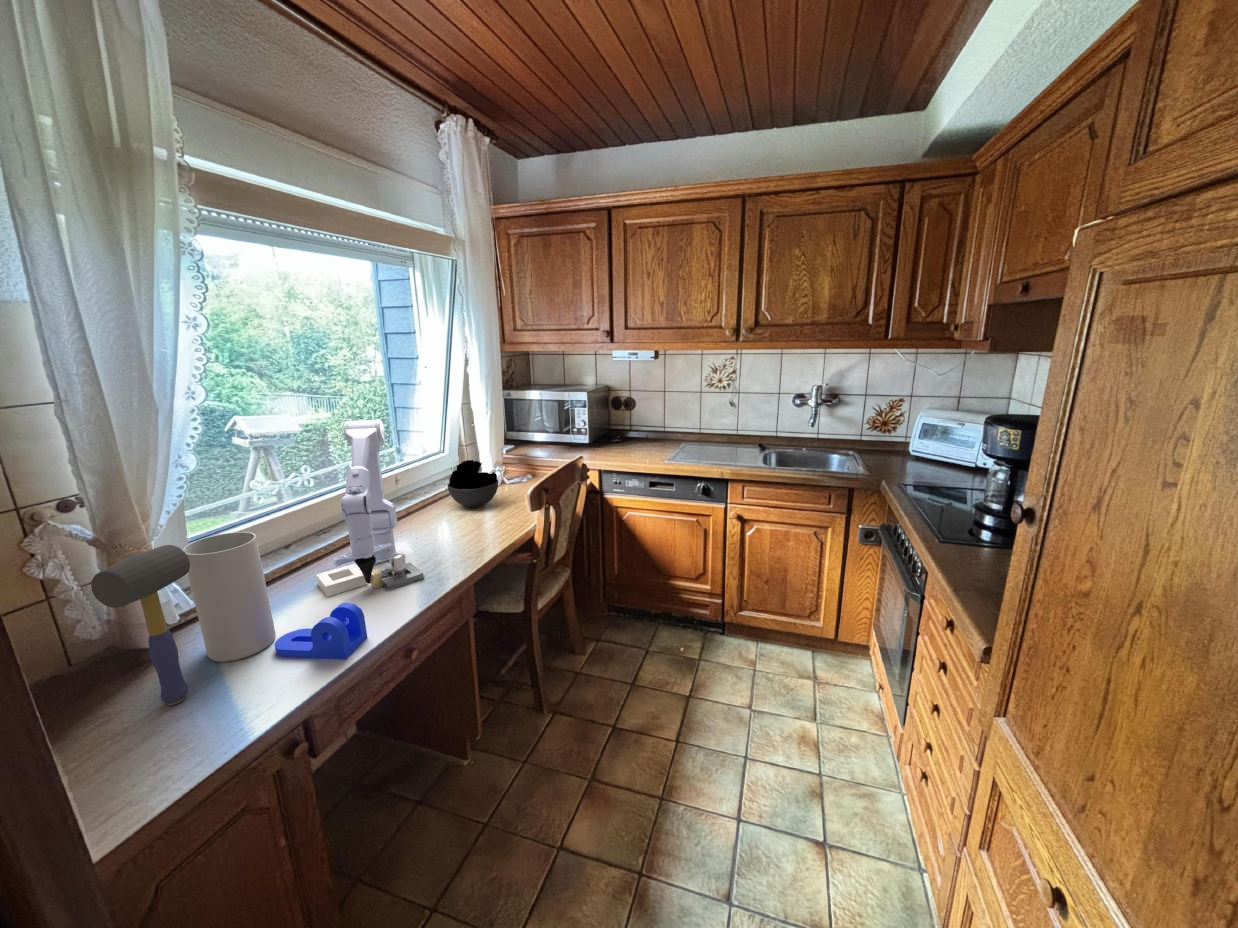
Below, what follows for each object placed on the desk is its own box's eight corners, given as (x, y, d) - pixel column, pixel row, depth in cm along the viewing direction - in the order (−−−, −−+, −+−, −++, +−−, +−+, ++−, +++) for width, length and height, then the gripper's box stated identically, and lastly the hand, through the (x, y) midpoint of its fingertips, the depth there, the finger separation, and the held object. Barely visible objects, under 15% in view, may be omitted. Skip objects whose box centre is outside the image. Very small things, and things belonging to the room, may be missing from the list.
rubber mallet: (188, 678, 103) (153, 541, 96) (222, 680, 103) (189, 541, 95) (125, 723, 91) (80, 570, 84) (163, 725, 90) (121, 571, 83)
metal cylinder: (390, 578, 146) (387, 556, 144) (404, 574, 148) (401, 552, 147) (395, 583, 143) (392, 560, 141) (409, 578, 145) (406, 556, 144)
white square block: (317, 584, 143) (316, 574, 142) (355, 573, 149) (354, 563, 149) (327, 596, 136) (325, 586, 135) (366, 584, 142) (365, 574, 142)
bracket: (367, 638, 117) (362, 602, 115) (345, 660, 109) (339, 622, 106) (293, 635, 118) (287, 600, 116) (267, 657, 110) (259, 620, 108)
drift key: (370, 584, 142) (368, 571, 141) (389, 579, 145) (387, 566, 144) (374, 588, 139) (372, 575, 138) (392, 582, 143) (391, 569, 142)
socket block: (375, 578, 146) (374, 572, 145) (410, 567, 152) (409, 562, 152) (388, 590, 139) (387, 584, 138) (424, 578, 145) (423, 572, 145)
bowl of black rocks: (487, 495, 222) (483, 454, 218) (508, 506, 207) (505, 461, 203) (442, 505, 210) (437, 461, 205) (461, 517, 195) (457, 470, 190)
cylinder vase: (194, 656, 110) (167, 550, 104) (251, 626, 122) (230, 529, 116) (233, 668, 106) (208, 558, 100) (289, 636, 118) (269, 535, 112)
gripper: (335, 547, 129) (343, 596, 132) (394, 532, 138) (400, 578, 141) (328, 540, 134) (336, 587, 137) (385, 526, 143) (391, 570, 146)
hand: (368, 582), depth 140 cm, fingers closed
